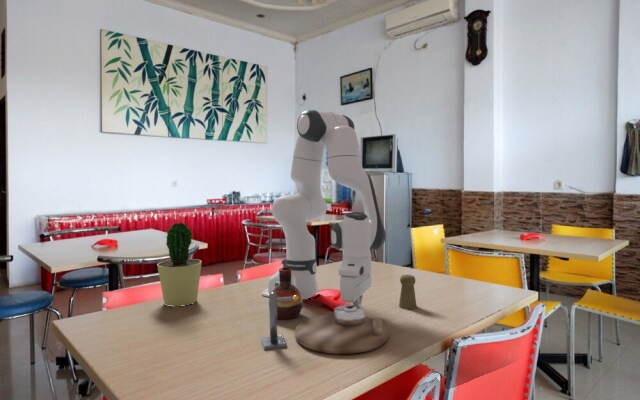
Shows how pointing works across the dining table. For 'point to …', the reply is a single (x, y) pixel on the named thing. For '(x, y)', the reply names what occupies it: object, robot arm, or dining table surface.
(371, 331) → the lazy susan
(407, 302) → the olive pawn
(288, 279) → the vase
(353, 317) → the aluminium cover
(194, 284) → the potted cactus
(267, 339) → the post
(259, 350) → the dining table surface
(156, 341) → the dining table surface
